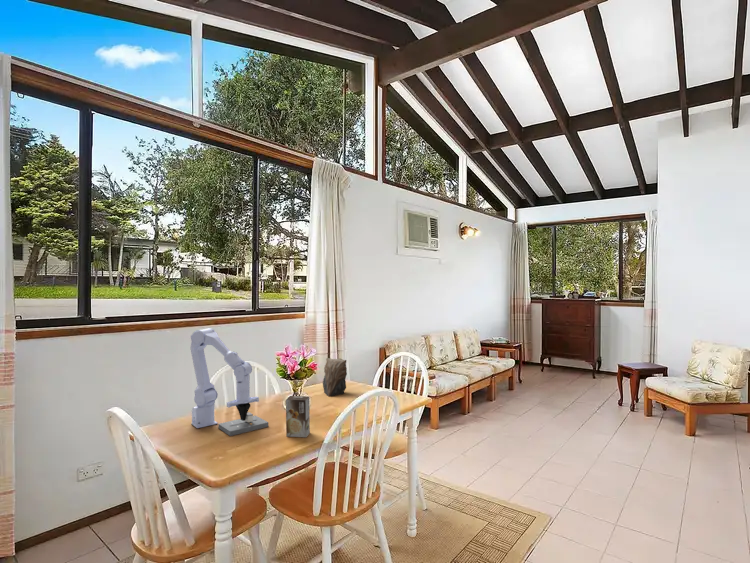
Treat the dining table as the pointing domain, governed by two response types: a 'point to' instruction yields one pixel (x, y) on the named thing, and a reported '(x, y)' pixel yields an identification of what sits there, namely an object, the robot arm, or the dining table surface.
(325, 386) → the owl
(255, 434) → the dining table surface
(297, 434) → the coffee box
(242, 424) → the console
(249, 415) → the fader tab
